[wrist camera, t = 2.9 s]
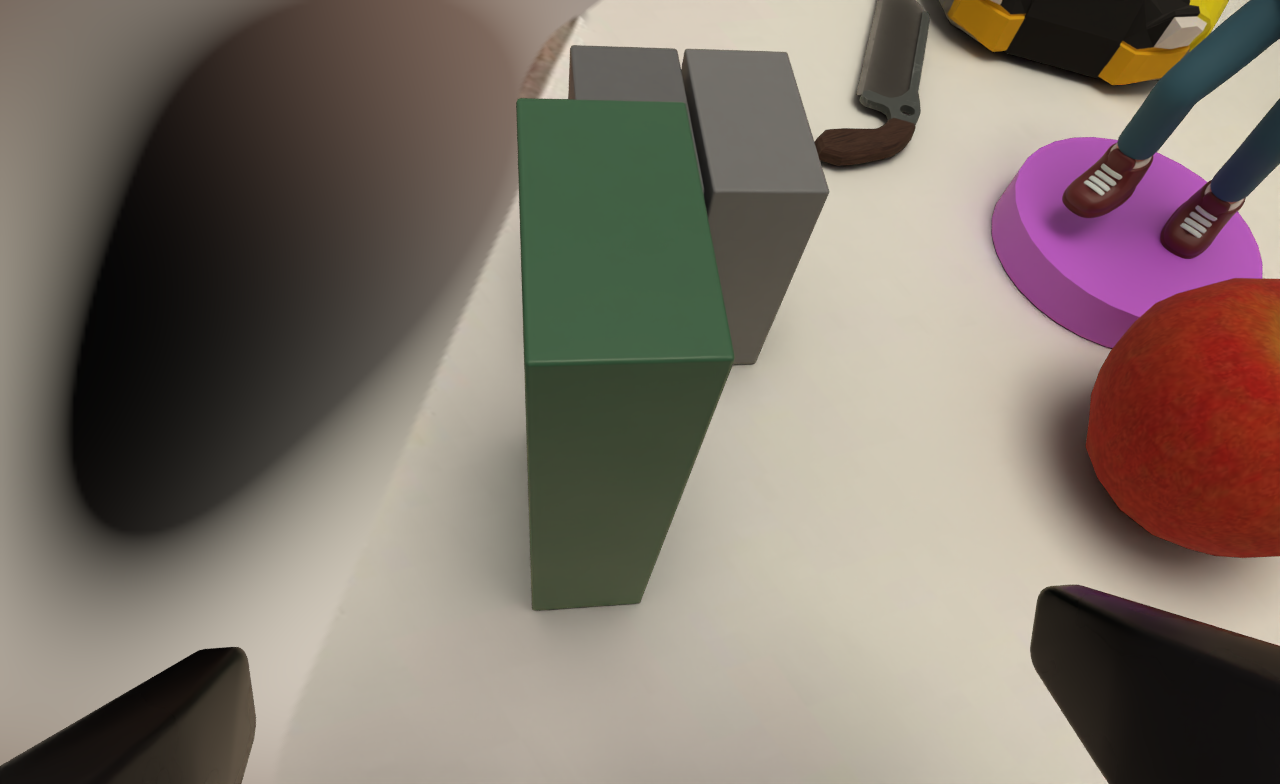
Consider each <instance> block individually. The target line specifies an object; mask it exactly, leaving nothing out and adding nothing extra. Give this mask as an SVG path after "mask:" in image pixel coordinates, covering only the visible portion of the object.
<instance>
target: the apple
mask: <svg viewBox="0 0 1280 784" xmlns="http://www.w3.org/2000/svg"><path fill="white" fill-rule="evenodd" d="M1086 449H1087V452H1088V454H1089V457H1090V460H1091V462H1092V465H1093V468H1094V470H1095V473H1096V475H1097V478H1098V479H1099V481H1100V482H1101V484H1102V485H1103V486H1104V488H1105V489H1106V491H1107V492H1108V493H1109V495H1110V496H1111V498H1112V499H1113V500H1114V502H1115V503H1116V505H1117V506H1118V507H1119V509H1120V510H1121V511H1123V512H1124V513H1125V514H1127V515H1128V516H1129V517H1130V518H1132V519H1133V520H1134V521H1135V522H1137V523H1138V524H1139V525H1140V526H1142V527H1143V528H1144V529H1146V530H1147V531H1148V532H1149V533H1151V534H1152V535H1154V536H1157V537H1159V538H1162V539H1164V540H1167V541H1169V542H1172V543H1174V544H1177V545H1179V546H1182V547H1185V548H1187V549H1191V550H1195V551H1199V552H1202V553H1206V554H1210V555H1214V556H1224V557H1240V558H1249V557H1271V556H1280V279H1257V278H1233V279H1229V280H1225V281H1221V282H1217V283H1214V284H1210V285H1206V286H1203V287H1199V288H1195V289H1192V290H1188V291H1185V292H1181V293H1177V294H1175V295H1173V296H1171V297H1168V298H1166V299H1164V300H1162V301H1159V302H1157V303H1155V304H1154V305H1153V306H1152V307H1151V308H1150V309H1148V310H1147V311H1146V312H1145V313H1144V314H1143V315H1142V316H1141V317H1139V318H1138V319H1137V320H1136V321H1135V322H1134V323H1133V324H1132V325H1131V327H1130V328H1129V329H1128V330H1127V331H1126V333H1125V334H1124V335H1123V336H1122V337H1121V339H1120V340H1119V341H1118V342H1117V343H1116V345H1115V346H1114V347H1113V348H1112V350H1111V352H1110V353H1109V355H1108V357H1107V359H1106V360H1105V362H1104V364H1103V366H1102V367H1101V369H1100V371H1099V374H1098V377H1097V379H1096V382H1095V385H1094V388H1093V390H1092V393H1091V402H1090V414H1089V424H1088V432H1087V440H1086Z"/></svg>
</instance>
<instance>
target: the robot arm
mask: <svg viewBox="0 0 1280 784" xmlns="http://www.w3.org/2000/svg"><path fill="white" fill-rule="evenodd" d="M1030 652H1031V659H1032V663H1033V665H1034V668H1035V670H1036V672H1037V673H1038V675H1039V676H1040V678H1041V679H1042V681H1043V683H1044V684H1045V686H1046V687H1047V689H1048V690H1049V692H1050V693H1051V695H1052V697H1053V698H1054V700H1055V701H1056V703H1057V704H1058V706H1059V708H1060V709H1061V711H1062V712H1063V714H1064V715H1065V717H1066V718H1067V720H1068V722H1069V723H1070V725H1071V726H1072V728H1073V729H1074V731H1075V733H1076V734H1077V736H1078V737H1079V739H1080V740H1081V742H1082V743H1083V745H1084V747H1085V748H1086V750H1087V751H1088V753H1089V754H1090V756H1091V758H1092V759H1093V761H1094V762H1095V764H1096V765H1097V767H1098V768H1099V770H1100V771H1101V773H1102V774H1103V776H1104V777H1105V779H1106V780H1107V782H1108V783H1109V784H1280V646H1278V645H1275V644H1271V643H1268V642H1265V641H1261V640H1258V639H1255V638H1252V637H1248V636H1245V635H1242V634H1239V633H1235V632H1232V631H1229V630H1225V629H1222V628H1219V627H1216V626H1212V625H1209V624H1206V623H1202V622H1199V621H1196V620H1193V619H1189V618H1186V617H1183V616H1180V615H1176V614H1173V613H1170V612H1166V611H1163V610H1160V609H1157V608H1153V607H1150V606H1147V605H1143V604H1140V603H1137V602H1134V601H1130V600H1127V599H1124V598H1121V597H1117V596H1114V595H1111V594H1107V593H1104V592H1101V591H1098V590H1094V589H1091V588H1088V587H1084V586H1081V585H1060V586H1050V587H1046V588H1045V589H1043V590H1042V591H1041V593H1040V594H1039V596H1038V600H1037V605H1036V612H1035V619H1034V625H1033V632H1032V639H1031V646H1030ZM255 727H256V715H255V707H254V700H253V693H252V685H251V678H250V671H249V664H248V658H247V656H246V654H245V652H244V651H243V650H242V649H241V648H239V647H226V648H213V649H203V650H199V651H197V652H195V653H193V654H192V655H190V656H188V657H187V658H185V659H183V660H181V661H180V662H178V663H176V664H175V665H173V666H171V667H169V668H168V669H166V670H164V671H163V672H161V673H159V674H157V675H156V676H154V677H152V678H150V679H149V680H147V681H145V682H144V683H142V684H140V685H138V686H137V687H135V688H133V689H132V690H130V691H128V692H126V693H125V694H123V695H121V696H120V697H118V698H116V699H114V700H113V701H111V702H109V703H108V704H106V705H104V706H102V707H101V708H99V709H97V710H95V711H94V712H92V713H90V714H89V715H87V716H85V717H83V718H82V719H80V720H78V721H77V722H75V723H73V724H71V725H70V726H68V727H66V728H65V729H63V730H61V731H60V732H58V733H56V734H54V735H52V736H51V737H49V738H47V739H46V740H44V741H42V742H41V743H39V744H37V745H35V746H34V747H32V748H30V749H28V750H27V751H25V752H23V753H22V754H20V755H18V756H16V757H15V758H13V759H11V760H10V761H8V762H6V763H4V764H3V765H1V766H0V784H241V783H242V780H243V776H244V772H245V769H246V765H247V762H248V758H249V755H250V751H251V748H252V744H253V741H254V735H255Z"/></svg>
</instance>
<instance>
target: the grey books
mask: <svg viewBox="0 0 1280 784" xmlns="http://www.w3.org/2000/svg"><path fill="white" fill-rule="evenodd" d="M568 99H572V100H616V101H660V102H684V103H685V104H686V107H687V112H688V117H689V122H690V128H691V133H692V138H693V143H694V148H695V153H696V159H697V164H698V169H699V174H700V179H701V185H702V190H703V195H704V200H705V205H706V210H707V216H708V221H709V226H710V231H711V236H712V242H713V247H714V252H715V257H716V262H717V267H718V273H719V278H720V283H721V288H722V293H723V299H724V304H725V309H726V314H727V319H728V324H729V330H730V335H731V340H732V345H733V350H734V356H735V359H734V362H733V364H754V363H755V362H756V360H757V358H758V355H759V353H760V351H761V349H762V346H763V344H764V342H765V339H766V337H767V335H768V332H769V330H770V328H771V325H772V323H773V321H774V319H775V316H776V314H777V312H778V309H779V307H780V305H781V302H782V300H783V298H784V295H785V293H786V291H787V289H788V286H789V284H790V282H791V279H792V277H793V275H794V272H795V270H796V268H797V265H798V263H799V261H800V259H801V256H802V254H803V252H804V249H805V247H806V245H807V242H808V240H809V238H810V235H811V233H812V231H813V229H814V226H815V224H816V222H817V219H818V217H819V215H820V212H821V210H822V208H823V205H824V203H825V201H826V199H827V196H828V194H829V189H828V186H827V182H826V179H825V176H824V173H823V169H822V166H821V163H820V159H819V156H818V153H817V149H816V146H815V143H814V140H813V136H812V133H811V130H810V126H809V123H808V120H807V117H806V113H805V110H804V107H803V103H802V100H801V97H800V93H799V90H798V87H797V84H796V80H795V77H794V74H793V70H792V67H791V64H790V61H789V57H788V54H787V53H786V52H769V51H738V50H708V49H686V50H685V52H684V58H683V63H682V69H681V67H680V62H679V57H678V52H677V50H676V49H669V48H638V47H608V46H577V45H573V46H571V48H570V69H569V95H568Z"/></svg>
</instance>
